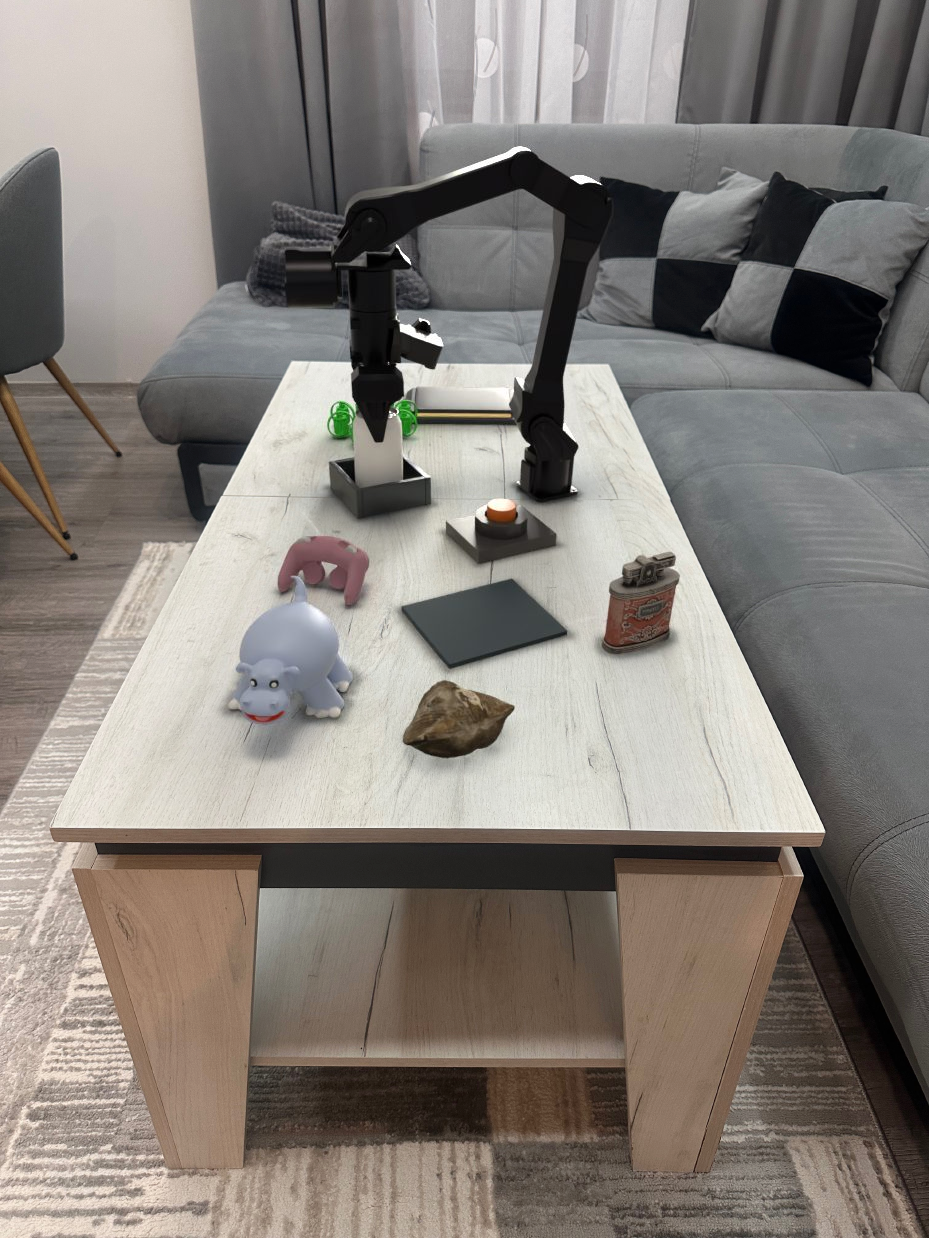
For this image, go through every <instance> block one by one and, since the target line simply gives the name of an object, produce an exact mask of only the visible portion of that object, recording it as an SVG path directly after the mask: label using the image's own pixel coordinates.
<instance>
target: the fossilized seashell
mask: <svg viewBox="0 0 929 1238" xmlns="http://www.w3.org/2000/svg"><path fill="white" fill-rule="evenodd" d="M515 708H516V706H515V705H514V704H510V703H509V702H507V701H504V700H502V699H500V698H498V697H495V696H493V695H490V694H487V693H483V692H480V691H476V690H471V689H467V688H463V687H461V686H460V685H458V684H457V683H455V682H453V681H450V680H445V679H444V680H443V679H442V680H440V681H437V682H436V683H435V684H433V685H431V686H430V688H429V689H428V690H427V691H426V692H424V693H423V696H422V697H421V699H420V701H419V702H418V705H417V709H416V711H415V714H414V715H413V717H412V720H411V722H410V723H409V724H408V726H407V727H406V728H405V730H404V733H403V734H402V743H403V744H404V745H405V746H410V747H412V748H414V749H415V750H417V751H419V752H421V753H422V754H425V755H427V756H431V757H435V758H439V759H440V758H441V759H454V758H458V757H459V758H460V757H463V756H464V757H465V756H467V755H470V754H472V753H474V752H475V751H477V750H484V749H487V748H489V747H490V746H491V745H493V744H494V743H495V742H496V741H497V740H498V738H499V737H500V735H501V734H502V731H503V728H504V726H505V723H506V720H507V719H508V717H509V716H511V714H512V713H514V711H515Z"/></svg>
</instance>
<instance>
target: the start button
mask: <svg viewBox="0 0 929 1238" xmlns="http://www.w3.org/2000/svg"><path fill="white" fill-rule="evenodd" d="M486 505H487V518H488V519H490V520H493V521H496V522H508V521H512V520H515V518H516V506H517V503H516V502H515V501H513V500H511V499H508V498H493V499H490V500H489V501H488V502H487V504H486Z"/></svg>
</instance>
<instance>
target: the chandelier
mask: <svg viewBox="0 0 929 1238" xmlns="http://www.w3.org/2000/svg"><path fill="white" fill-rule="evenodd" d="M407 402H410V403H412V404H413V405H414V406H415V410H416V413H415V416H414V415H413V414H412V411H411V408H410V405H409V404H407ZM337 404H338V405H337ZM335 405H337V406H336V409H335V411H333V410H334V407H335ZM354 406H355V410H354V408H353V407H352V405H351V404H350V403H349V402H346V401H344V400H338V401H336V402H334V403H333V404H332V405H331V407H330V411H329V412H330V416H329V417H328V419H327V421H326V422H327V423H326V428H327V431H328V433H330V435H331V436H333V437H335V438H339V439H343V438H346V437H348V436H349V435H350V441H351V444H353V445H354V443H353V421H354V419H355V417H356V414H355V412H356V410H357V409H358V407H357V405H356V403H355V404H354ZM391 407H394V408H396V409H397V408H398V409H397V410H398V416H399V418H400V420H401V423H402V437H410V436H412V435H414V434H415V433H416V431H417V429H418V424H417V420H416V418H417V414H418V410H417V407H416V405H415V404H414V403H413V402H412V401H410V400H406V399H401V400H400V401H397V402H396V403H394V404H393V405H392V406H391ZM350 411H351V413H350ZM412 418H413V420H412ZM331 420H332V421H333V431H334V433H333V432H332V431H331V429H330V422H331ZM413 422H415V423H413ZM413 424H414V429H413V431H412V425H413ZM349 427H350V428H349Z"/></svg>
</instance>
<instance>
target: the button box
mask: <svg viewBox="0 0 929 1238" xmlns="http://www.w3.org/2000/svg"><path fill="white" fill-rule="evenodd" d="M445 533H446V534H447V536H449V537H450V538H451V539H452V540H453V541H454V542H455V543H456V544H457V545H458V546H459V548H461V549H462V550H463V551H465V553H466V554H467V555H468V556H469V557H471V559H472V560H473V561H474V562H475V563H477V564H479V565H481V564H483V563H488V562H492V561H497V560H500V559H501V560H502V559H505V558H509V557H513V556H517V555H522V554H526V553H531V552H534V551H539V550H542V549H546V548H551V547H555V546H556V545H557V536H558V533H557V532H555V531H554V530H553V529H552V528H550V527H549V526H548V525H547V524H545V522H543V521H542V520H541V519H540V518H538V517H537V516H536V515H534V514H533V513H531V512H530V511H529V510H528V509H526V508H525V507H524V506H523V505H522V504H518V505H516V518H515V520H512V521H508V522H496V521H493V520H490V519H488V518H487V504H483V505H481V506H480V507H478V508H477V509H476V510H475V512H474V514H472V515H467V516H462V517H459V518H453V519H448V520H445Z"/></svg>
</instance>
